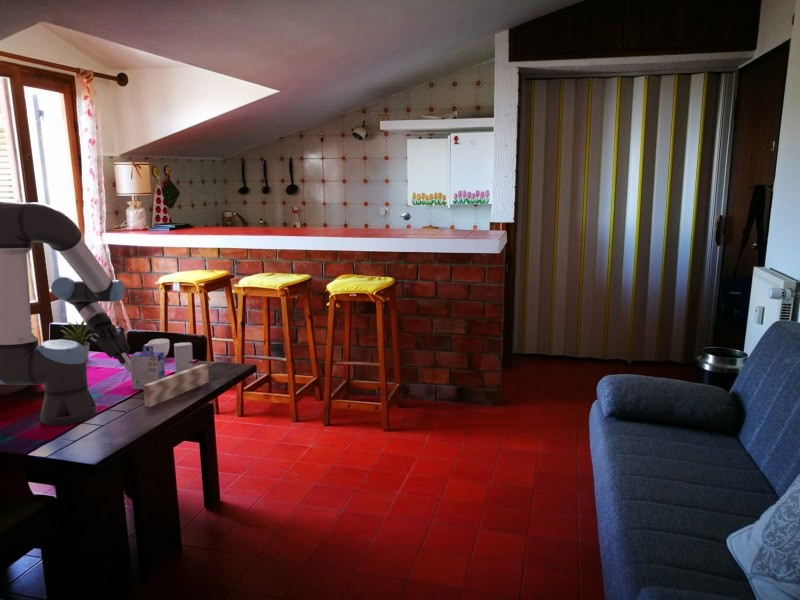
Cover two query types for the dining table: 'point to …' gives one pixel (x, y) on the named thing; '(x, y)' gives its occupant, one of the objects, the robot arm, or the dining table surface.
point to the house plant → (79, 336)
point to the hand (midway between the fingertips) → (131, 369)
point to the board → (175, 384)
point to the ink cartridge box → (146, 367)
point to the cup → (159, 345)
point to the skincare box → (183, 356)
